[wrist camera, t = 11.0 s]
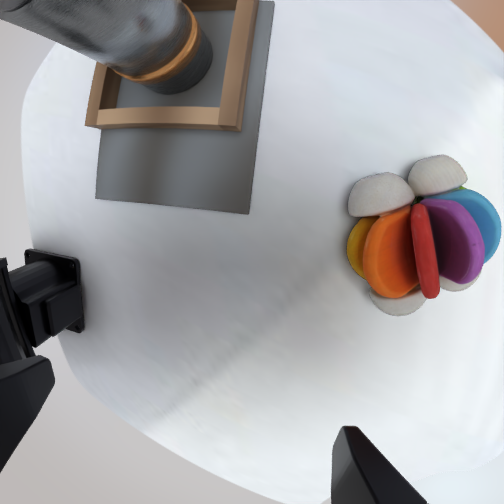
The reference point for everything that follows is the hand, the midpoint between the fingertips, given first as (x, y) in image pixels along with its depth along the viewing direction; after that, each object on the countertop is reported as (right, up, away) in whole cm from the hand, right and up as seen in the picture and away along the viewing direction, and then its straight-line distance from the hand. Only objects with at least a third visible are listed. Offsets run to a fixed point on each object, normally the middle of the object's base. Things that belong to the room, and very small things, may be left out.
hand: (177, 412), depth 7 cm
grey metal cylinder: (-3, +17, +9) cm, 20 cm away
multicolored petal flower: (+12, +6, +11) cm, 18 cm away
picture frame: (-3, +15, +10) cm, 18 cm away
